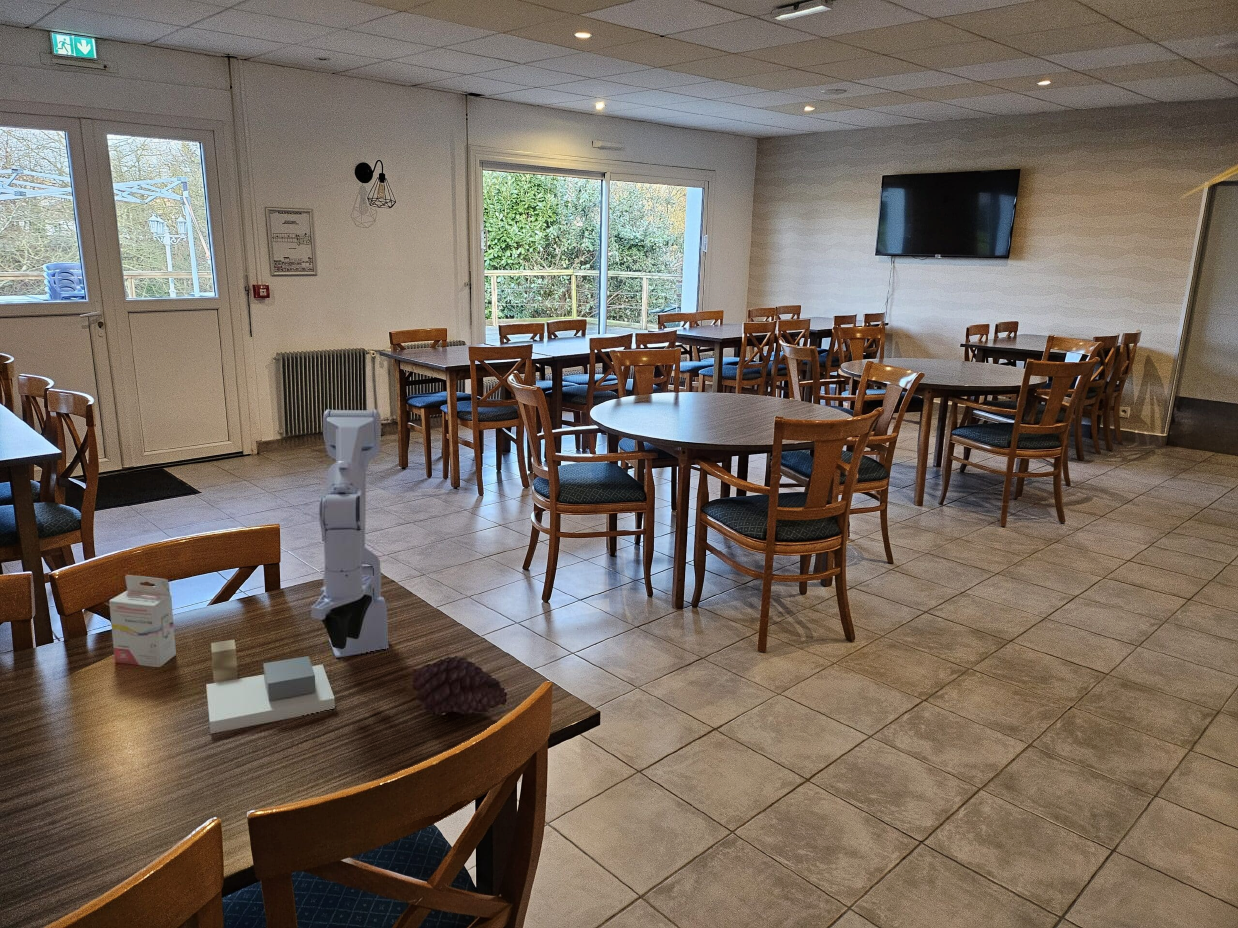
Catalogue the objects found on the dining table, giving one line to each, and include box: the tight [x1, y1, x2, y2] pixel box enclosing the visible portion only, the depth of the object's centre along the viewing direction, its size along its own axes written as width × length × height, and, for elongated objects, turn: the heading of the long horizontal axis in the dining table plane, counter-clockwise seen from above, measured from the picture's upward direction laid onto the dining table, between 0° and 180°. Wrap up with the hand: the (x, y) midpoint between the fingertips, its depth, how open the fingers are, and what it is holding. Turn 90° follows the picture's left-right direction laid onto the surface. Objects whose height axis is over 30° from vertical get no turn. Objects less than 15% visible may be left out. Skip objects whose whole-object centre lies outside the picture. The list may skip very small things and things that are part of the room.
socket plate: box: [205, 664, 336, 734], centre depth 135 cm, size 18×12×2 cm, turn 118°
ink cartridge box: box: [108, 574, 177, 668], centre depth 145 cm, size 9×5×15 cm, turn 84°
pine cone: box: [406, 655, 508, 717], centre depth 134 cm, size 18×10×10 cm, turn 70°
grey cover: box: [263, 655, 316, 701], centre depth 136 cm, size 7×7×3 cm
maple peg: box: [210, 639, 239, 683], centre depth 142 cm, size 4×4×6 cm
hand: (345, 642), depth 139 cm, fingers open, 3 cm apart
